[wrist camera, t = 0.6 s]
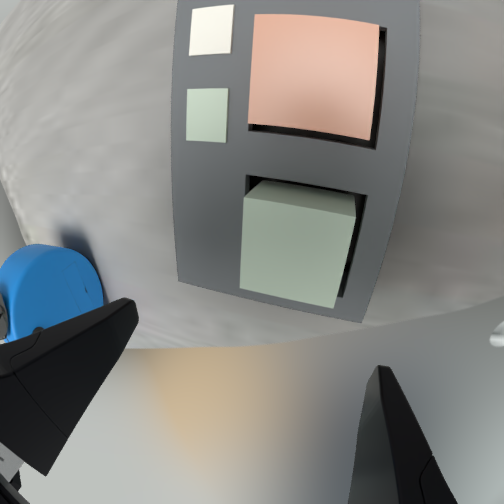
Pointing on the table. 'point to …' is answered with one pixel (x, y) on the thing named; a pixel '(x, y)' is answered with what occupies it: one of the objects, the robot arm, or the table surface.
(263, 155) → the console
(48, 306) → the alarm clock
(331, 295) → the sage key
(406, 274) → the table surface
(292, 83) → the terracotta key
